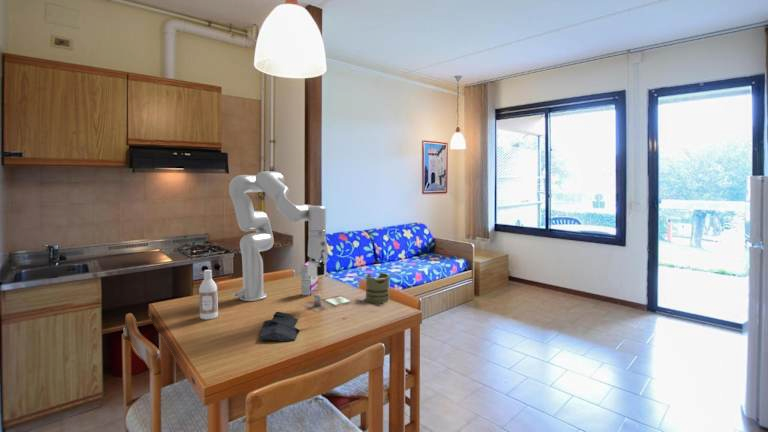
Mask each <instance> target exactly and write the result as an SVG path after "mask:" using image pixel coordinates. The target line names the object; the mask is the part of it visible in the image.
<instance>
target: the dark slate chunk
mask: <svg viewBox="0 0 768 432" xmlns="http://www.w3.org/2000/svg"><path fill="white" fill-rule="evenodd" d="M272 316H273V317H272V318H271V319H269V320H264V321H263V323H262V328H261V330H260V334H259V338H260V340H261V341H276V342H278V341H279V342H293V341H296V340H297V337H298V335H299V333H300V330H301V329H298V328H297V327H296V325H297V323H298V321H299V318H297V317H296V318H295V317H294V316H293V315H291V313H285V312H281V311H276V312H275V313H274V314H273V315H272Z"/></svg>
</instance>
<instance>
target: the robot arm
mask: <svg viewBox="0 0 768 432" xmlns="http://www.w3.org/2000/svg"><path fill="white" fill-rule="evenodd" d="M228 192H229V196H230V198H231V201H232V204H233V207H234V212H235V216H236V221H237V225H238V228H239V230H241V231H243V232H251V231H252V232H253V231H255V232H253V233H248V234H246V235H243V236H242V237H241V238H240V240H239V249H240V253H241V260H242V261H241V263H242V265H241V266H242V288H241V289H240V290H239V291H235V292H232V296H233V298H234V297H239V299H240V300H241V301H244V302H245V301H246V302H255V301H256V302H257V301H262V300H265V299H266V298H267V297H268V295H267V292H264V261H263V257H262V255H261V253H260V252H265V251H268V250H270V249H271V248H272V247H273V246H274V242H275V241H274V234H273V230H272V226H271V221H270V218H269V216H268V215H267V213H266V212H265V211H262V210H255V209H254V204H253V201H252V200H251V198H250V197H249V195H248V194H247V193H265V194H266V195H267V196H269V197H270V198H271V199H272V200H273V201H274V204H275V207H276V209H277V211H278V212H279V214H280V215H281V216H283V217H284V218H285V219H287V221H289V222H291V223H301V222H307V221H308V233H307V234H308V241H307V257H308V258H307V259H308V261H316V260H317V262H318V267H317V275H318V276H319V275H324V266H325V263H326V264H327V261H328V258H329V257H328V243H327V241H328V240H327V237H326V233H327V231H326V230H327V227H326V226H327V222H326V220H327V211H326V210H327V208H326V207H325V206H323V205H312V204H306V203H305V204H294V203H292V202H291V201H290V200H289V199H288V198H287V197H288V196H289V194H290V189H289V187H288V186H287V185H285V178H284V175H282V173H280V172H279V171H275V170H274V171H272V170H263V171H259V172H258V173H257V174H253V175H252V174H239V175H236V176H234V177H233V178H232V179H231V180H230V183H229V185H228ZM320 261H321V263H320Z"/></svg>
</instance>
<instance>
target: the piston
mask: <svg viewBox="0 0 768 432" xmlns="http://www.w3.org/2000/svg"><path fill="white" fill-rule="evenodd" d="M365 288H366V289H365V301H366V300H367V302H368V303H371V302H372V303H371V304H383V302H385V303H387V302H389V301H390V289H389V288H390V274H388V273H385V272H380V273H379V276H378V277H372V276H371V274H370V273H367V274H366V275H365ZM388 300H389V301H388Z"/></svg>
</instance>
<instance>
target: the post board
mask: <svg viewBox="0 0 768 432" xmlns="http://www.w3.org/2000/svg"><path fill="white" fill-rule="evenodd" d="M313 294H314V295H313V300H312V301H308V302H307V301H306V302H303V303H300V305H301V306H303V307H305V308H306V309H309V310H310V311H312V312H314V313H318V312H322V311H327V310H331V309H334V308H339V307H344V306H346V305H347V306H348V305H351V304H356V303H357V301H355V300H354V299H350V298H348V297H345V296H344V295H341V294H339V295H335V296H331V297H326V298H322V294H321V293H313Z"/></svg>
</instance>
